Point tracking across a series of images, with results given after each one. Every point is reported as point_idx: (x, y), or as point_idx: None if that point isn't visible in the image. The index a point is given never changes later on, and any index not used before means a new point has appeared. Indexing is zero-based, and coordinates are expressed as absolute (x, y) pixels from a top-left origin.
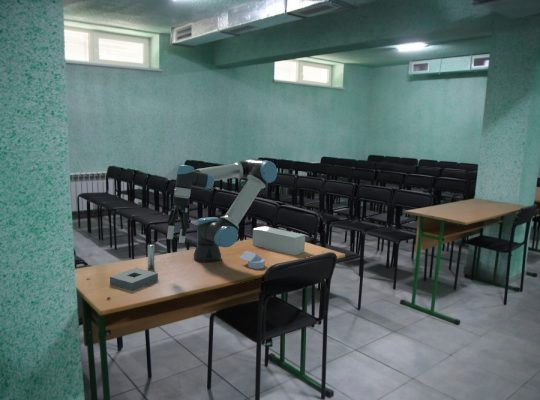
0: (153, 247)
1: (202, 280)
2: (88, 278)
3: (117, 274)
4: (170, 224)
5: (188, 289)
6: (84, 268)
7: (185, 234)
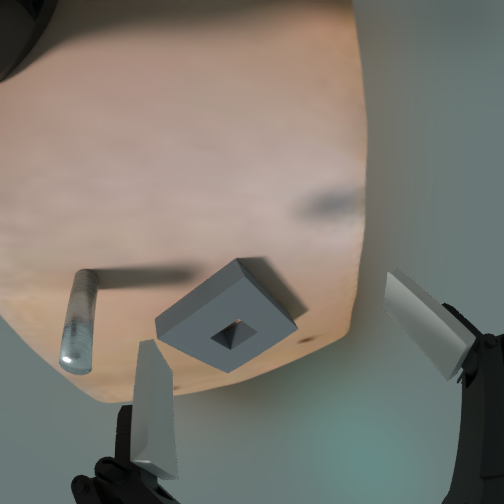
0: (82, 351)
1: (309, 94)
2: None
3: (215, 365)
4: (155, 487)
5: (359, 173)
6: (99, 399)
7: (455, 311)
